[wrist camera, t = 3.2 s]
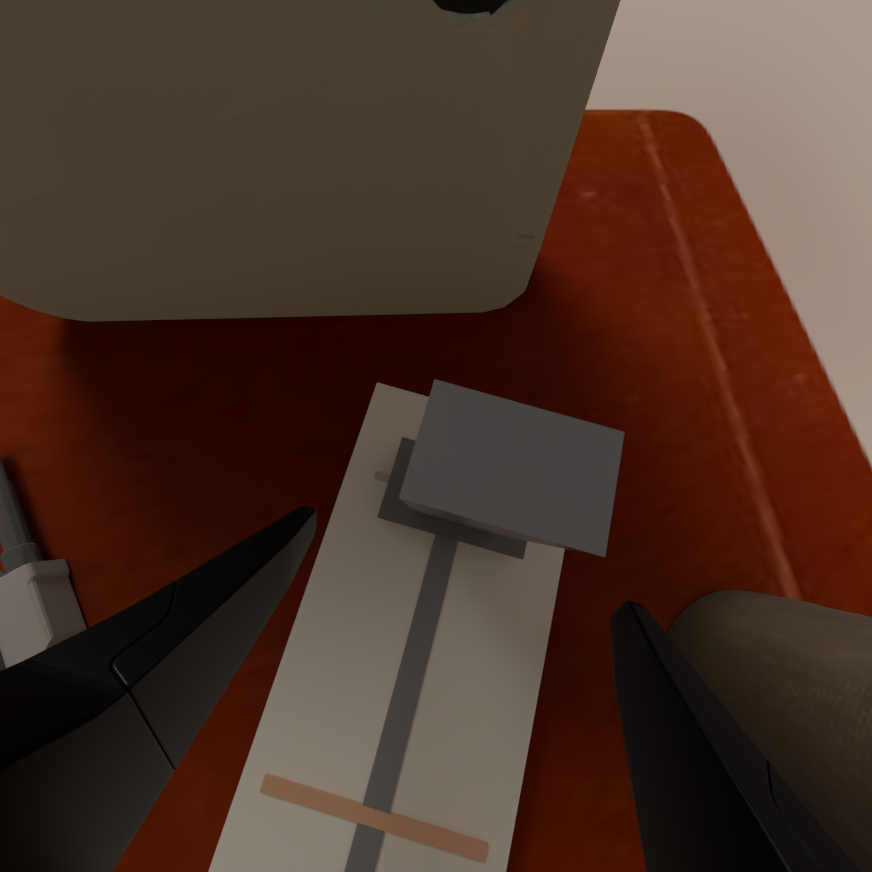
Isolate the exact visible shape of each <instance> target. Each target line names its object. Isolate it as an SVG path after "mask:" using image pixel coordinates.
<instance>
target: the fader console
mask: <svg viewBox="0 0 872 872" xmlns="http://www.w3.org/2000/svg"><path fill="white" fill-rule="evenodd" d="M428 399H429V397H428V396H424V395H420V394H417V393H413V392H410V391H406V390H403V389H399V388H395V387H392V386H388V385H385V384H381V383H378V382H377V384H376V387H375V390H374V393H373V396H372V398H371V401H370V404H369V407H368V410H367V413H366V416H365V419H364V422H363V425H362V427H361V430H360V433H359V436H358V439H357V442H356V445H355V448H354V451H353V454H352V456H351V459H350V462H349V465H348V468H347V471H346V474H345V477H344V480H343V483H342V485H341V488H340V491H339V494H338V497H337V500H336V503H335V506H334V509H333V512H332V514H331V517H330V520H329V523H328V526H327V529H326V532H325V535H324V538H323V541H322V543H321V546H320V549H319V552H318V555H317V558H316V561H315V564H314V567H313V570H312V572H311V575H310V578H309V581H308V584H307V587H306V590H305V593H304V596H303V599H302V601H301V604H300V607H299V610H298V613H297V616H296V619H295V622H294V625H293V628H292V630H291V633H290V636H289V639H288V642H287V645H286V648H285V651H284V654H283V657H282V659H281V662H280V665H279V668H278V671H277V674H276V677H275V680H274V683H273V686H272V688H271V691H270V694H269V697H268V700H267V703H266V706H265V709H264V712H263V715H262V717H261V720H260V723H259V726H258V729H257V732H256V735H255V738H254V741H253V744H252V746H251V749H250V752H249V755H248V758H247V761H246V764H245V767H244V770H243V773H242V775H241V778H240V781H239V784H238V787H237V790H236V793H235V796H234V799H233V802H232V804H231V807H230V810H229V813H228V816H227V819H226V822H225V825H224V828H223V831H222V833H221V836H220V839H219V842H218V845H217V848H216V851H215V854H214V857H213V860H212V862H211V865H210V868H209V871H208V872H506V869H507V864H508V858H509V853H510V847H511V842H512V836H513V831H514V825H515V820H516V814H517V809H518V803H519V798H520V792H521V787H522V781H523V776H524V770H525V765H526V759H527V754H528V748H529V743H530V737H531V732H532V726H533V721H534V715H535V710H536V704H537V699H538V693H539V688H540V682H541V677H542V671H543V666H544V660H545V655H546V649H547V644H548V638H549V633H550V627H551V622H552V616H553V611H554V605H555V600H556V594H557V589H558V583H559V578H560V572H561V567H562V561H563V556H564V550H565V549H563V548H558V547H553V546H548V545H544V544H539V543H534V542H529V541H527V544H526V549H525V554H524V558H523V560H522V559H518V558H515V557H512V556H508V555H505V554H501V553H498V552H494V551H491V550H487V549H484V548H480V547H477V546H474V545H470V544H467V543H463V542H460V541H456V540H453V539H449V538H446V537H443V536H439V535H436V534H432V533H429V532H425V531H422V530H418V529H415V528H412V527H408V526H405V525H401V524H398V523H394V522H391V521H387V520H384V519H381V518H377V516H378V513H379V510H380V506H381V503H382V500H383V497H384V494H385V490H386V487H387V484H388V481H389V478H390V474H391V471H392V468H393V465H394V462H395V459H396V455H397V452H398V449H399V446H400V443H401V439H402V437H404V438H408V439H411V440H415V441H416V439H417V435H418V432H419V429H420V425H421V422H422V419H423V415H424V412H425V409H426V406H427V402H428Z"/></svg>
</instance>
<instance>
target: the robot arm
mask: <svg viewBox="0 0 872 872" xmlns="http://www.w3.org/2000/svg"><path fill="white" fill-rule="evenodd" d="M316 523H317V511H316V509H314V508H311V507H307V506H301V507H299V508H297V509H295V510H294V511H292V512H290V513H289V514H287V515H285V516H284V517H282V518H280V519H279V520H277V521H275V522H274V523H272V524H270V525H268V526H267V527H265V528H263V529H262V530H260V531H258V532H257V533H255V534H253V535H252V536H250V537H248V538H247V539H245V540H243V541H242V542H240V543H238V544H236V545H235V546H233V547H231V548H230V549H228V550H226V551H225V552H223V553H221V554H220V555H218V556H216V557H215V558H213V559H211V560H210V561H208V562H206V563H204V564H203V565H201V566H199V567H198V568H196V569H194V570H193V571H191V572H189V573H188V574H186V575H184V576H183V577H181V578H179V579H178V580H177V582H176V581H174V582H172V583H171V584H169V585H167V586H165V587H164V588H162V589H160V590H159V591H157V592H155V593H153V594H152V595H150V596H148V597H146V598H145V599H143V600H141V601H139V602H138V603H136V604H134V605H132V606H130V607H129V608H127V609H125V610H123V611H121V612H119V613H117V614H115V615H113V616H111V617H109V618H107V619H106V620H104V621H102V622H100V623H98V624H96V625H94V626H92V627H90V628H88V629H86V630H84V631H82V632H80V633H78V634H76V635H74V636H72V637H70V638H68V639H66V640H64V641H62V642H60V643H58V644H56V645H54V646H52V647H50V648H48V649H46V650H44V651H42V652H40V653H38V654H36V655H34V656H32V657H30V658H28V659H26V660H24V661H21V662H19V663H17V664H15V665H13V666H10V667H8V668H6V669H3V670H1V671H0V872H112V871H113V869H114V868H115V866H116V865H117V863H118V861H119V860H120V858H121V857H122V855H123V853H124V852H125V850H126V848H127V847H128V845H129V844H130V842H131V840H132V839H133V837H134V836H135V834H136V832H137V831H138V829H139V828H140V826H141V824H142V823H143V821H144V820H145V818H146V816H147V815H148V813H149V812H150V810H151V808H152V807H153V805H154V804H155V802H156V800H157V799H158V797H159V796H160V794H161V792H162V791H163V789H164V787H165V786H166V784H167V783H168V781H169V779H170V778H171V776H172V775H173V773H174V769H176V768H177V766H178V765H179V763H180V762H181V760H182V758H183V757H184V755H185V753H186V752H187V750H188V749H189V747H190V745H191V744H192V742H193V741H194V739H195V737H196V736H197V734H198V733H199V731H200V729H201V728H202V726H203V725H204V723H205V721H206V720H207V718H208V717H209V715H210V713H211V712H212V710H213V709H214V707H215V705H216V704H217V702H218V701H219V699H220V697H221V696H222V694H223V693H224V691H225V689H226V688H227V686H228V685H229V683H230V681H231V680H232V678H233V677H234V675H235V673H236V672H237V670H238V668H239V667H240V665H241V664H242V662H243V660H244V659H245V657H246V656H247V654H248V652H249V651H250V649H251V648H252V646H253V644H254V643H255V641H256V640H257V638H258V636H259V635H260V633H261V632H262V630H263V628H264V627H265V625H266V624H267V622H268V620H269V619H270V617H271V616H272V614H273V612H274V611H275V609H276V608H277V606H278V604H279V603H280V601H281V600H282V598H283V596H284V595H285V593H286V591H287V590H288V588H289V586H290V584H291V583H292V581H293V579H294V577H295V574H296V572H297V570H298V568H299V566H300V564H301V562H302V560H303V558H304V556H305V554H306V552H307V550H308V548H309V545H310V543H311V541H312V539H313V537H314V535H315V532H316ZM610 632H611V646H612V660H613V674H614V683H615V690H616V696H617V702H618V708H619V714H620V720H621V725H622V731H623V737H624V743H625V749H626V755H627V761H628V767H629V772H630V778H631V784H632V790H633V796H634V802H635V808H636V814H637V819H638V825H639V831H640V837H641V843H642V849H643V855H644V861H645V866H646V872H863V871H862V870H861V869H860V868H859V867H858V865H857V864H856V863H855V862H854V861H853V860H852V859H851V857H850V856H849V855H848V854H847V853H846V852H845V851H844V850H843V848H842V847H841V846H840V845H839V844H838V843H837V841H836V840H835V839H834V838H833V837H832V836H831V835H830V833H829V832H828V831H827V830H826V829H825V828H824V826H823V825H822V824H821V823H820V822H819V821H818V819H817V818H816V817H815V816H814V815H813V814H812V813H811V811H810V810H809V809H808V808H807V806H806V805H805V804H804V803H803V802H802V800H801V799H800V798H799V797H798V796H797V794H796V793H795V792H794V791H793V790H792V788H791V787H790V786H789V785H788V784H787V782H786V781H785V780H784V779H783V777H782V776H781V775H780V774H779V772H778V771H777V770H776V769H775V768H774V766H773V765H772V764H771V763H770V761H768V760H766V757H765V755H764V754H763V753H762V752H761V750H760V749H759V748H758V747H757V745H756V744H755V743H754V742H753V740H752V739H751V738H750V737H749V736H748V734H747V733H746V732H745V731H744V729H743V728H742V727H741V726H740V724H739V723H738V722H737V721H736V719H735V718H734V717H733V716H732V714H731V713H730V712H729V711H728V710H727V708H726V707H725V706H724V705H723V703H722V702H721V701H720V700H719V698H718V697H717V696H716V695H715V693H714V692H713V691H712V690H711V689H710V687H709V686H708V685H707V684H706V682H705V681H704V680H703V679H702V677H701V676H700V675H699V674H698V672H697V671H696V670H695V669H694V667H693V666H692V665H691V664H690V663H689V661H688V660H687V659H686V658H685V656H684V655H683V654H682V653H681V651H680V650H679V649H678V648H677V646H676V645H675V644H674V643H673V642H672V640H671V639H670V638H669V637H668V635H667V634H666V633H665V632H664V630H663V629H662V628H661V627H660V625H659V624H658V623H657V622H656V620H655V619H654V618H653V617H652V616H651V614H650V613H649V612H648V611H647V609H646V608H645V607H644V606H643V605H641V604H639V603H636V602H632V601H628V600H627V601H625V602H623V603H622V605H621V606H620V607H619V608H618V609H617V610H616V611H615V612H614V614H613V615H612V617H611V620H610Z"/></svg>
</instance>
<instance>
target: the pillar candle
mask: <svg viewBox="0 0 872 872" xmlns="http://www.w3.org/2000/svg"><path fill="white" fill-rule="evenodd" d="M668 637H669V638H670V639H671V640H672V642H673V643H674V644H675V645H676V646H677V648H678V649H679V650H680V651H681V653H682V654H683V655H684V656H685V658H686V659H687V660H688V661H689V663H690V664H691V665H692V666H693V667H694V669H695V670H696V671H697V672H698V674H699V675H700V676H701V677H702V679H703V680H704V681H705V682H706V684H707V685H708V686H709V687H710V689H711V690H712V691H713V692H714V693H715V695H716V696H717V697H718V698H719V700H720V701H721V702H722V703H723V705H724V706H725V707H726V708H727V710H728V711H729V712H730V713H731V714H732V716H733V717H734V718H735V719H736V721H737V722H738V723H739V724H740V726H741V727H742V728H743V729H744V731H745V732H746V733H747V734H748V736H749V737H750V738H751V739H752V740H753V742H754V743H755V744H756V745H757V747H758V748H759V749H760V750H761V752H762V753H763V754H764V755H765V757H766V760H768V761H770V763H771V764H772V765H773V766H774V768H775V769H776V770H777V771H778V772H779V774H780V775H781V776H782V777H783V779H784V780H785V781H786V782H787V784H788V785H789V786H790V787H791V788H792V790H793V791H794V792H795V793H796V794H797V796H798V797H799V798H800V799H801V800H802V802H803V803H804V804H805V805H806V806H807V808H808V809H809V810H810V811H811V813H812V814H813V815H814V816H815V817H816V818H817V819H818V821H819V822H820V823H821V824H822V825H823V826H824V828H825V829H826V830H827V831H828V832H829V833H830V835H831V836H832V837H833V838H834V839H835V840H836V841H837V843H838V844H839V845H840V846H841V847H842V848H843V850H844V851H845V852H846V853H847V854H848V855H849V856H850V857H851V859H852V860H853V861H854V862H855V863H856V864H857V865H858V867H859V868H860V869H861V870H862V871H863V872H872V617H868V616H864V615H861V614H856V613H849V612H845V611H840V610H836V609H832V608H827V607H823V606H820V605H816V604H814V603H808V602H805V601H799V600H794V599H790V598H785V597H780V596H774V595H769V594H761V593H757V592H752V591H747V590H722V591H717V592H713V593H711V594H708V595H705V596H703V597H701V598H700V599H699V600H697V601H696V602H694V603H693V604H691V605H690V606H688V607H687V608H686V609H685V610H684V611H683V612H682V613H681V614H680V615H679V616H678V618H677V619H676V620H675V621H674V623H673V624H672V626H671V628H670V630H669V634H668Z"/></svg>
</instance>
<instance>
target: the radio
mask: <svg viewBox="0 0 872 872" xmlns="http://www.w3.org/2000/svg"><path fill="white" fill-rule="evenodd" d="M619 2H620V0H0V295H1V296H3V297H5V298H6V299H8V300H11V301H13V302H16V303H18V304H21V305H23V306H25V307H28V308H30V309H33V310H36V311H39V312H43V313H47V314H50V315H54V316H58V317H61V318H65V319H72V320H80V321H87V322H90V321H133V320H176V319H219V318H262V317H305V316H348V315H391V314H434V313H477V312H487V311H491V310H495V309H499V308H503V307H505V306H507V305H508V304H509V303H510V302H512V301H513V300H514V299H516V298H517V297H518V296H520V295H521V294H522V293H524V292H525V290H526V287H527V285H528V282H529V279H530V276H531V273H532V270H533V268H534V265H535V262H536V259H537V256H538V253H539V251H540V248H541V244H542V241H543V238H544V235H545V232H546V229H547V226H548V223H549V220H550V216H551V213H552V210H553V207H554V204H555V201H556V198H557V195H558V192H559V189H560V185H561V182H562V179H563V176H564V173H565V170H566V167H567V164H568V161H569V158H570V154H571V151H572V148H573V145H574V142H575V139H576V136H577V133H578V130H579V127H580V123H581V120H582V117H583V114H584V111H585V108H586V105H587V102H588V99H589V95H590V92H591V89H592V86H593V83H594V80H595V77H596V74H597V70H598V68H599V64H600V61H601V58H602V55H603V52H604V49H605V46H606V43H607V40H608V37H609V33H610V30H611V27H612V24H613V21H614V18H615V15H616V12H617V9H618V6H619Z"/></svg>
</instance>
